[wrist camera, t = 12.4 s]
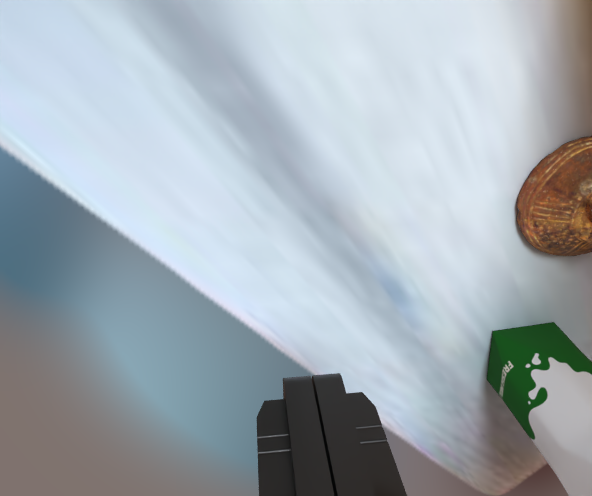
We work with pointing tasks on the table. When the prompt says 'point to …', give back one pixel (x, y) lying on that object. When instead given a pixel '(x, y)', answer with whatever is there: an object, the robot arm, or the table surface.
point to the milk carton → (548, 397)
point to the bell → (559, 201)
